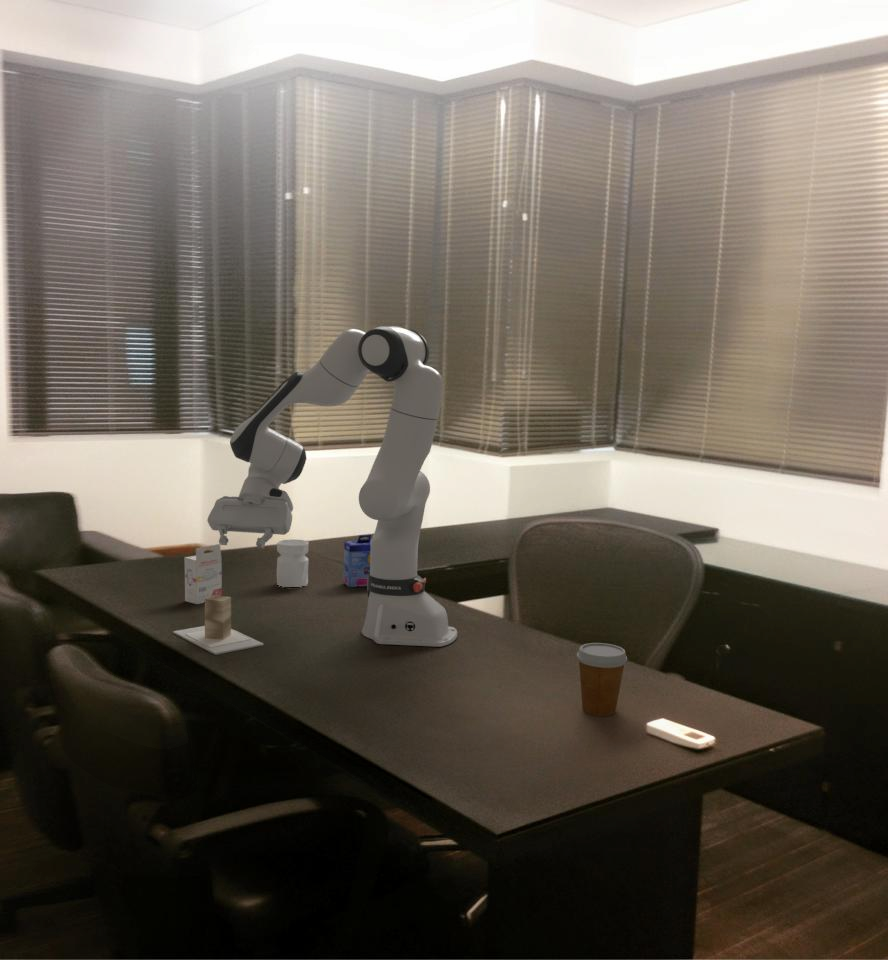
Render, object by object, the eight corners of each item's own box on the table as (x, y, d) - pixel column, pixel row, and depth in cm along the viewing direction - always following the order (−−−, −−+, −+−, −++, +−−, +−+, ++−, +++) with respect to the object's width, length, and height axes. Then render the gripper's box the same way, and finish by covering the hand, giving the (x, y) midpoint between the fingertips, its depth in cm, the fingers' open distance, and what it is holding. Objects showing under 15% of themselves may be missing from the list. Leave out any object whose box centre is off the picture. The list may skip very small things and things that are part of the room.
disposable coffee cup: (590, 697, 202) (593, 639, 200) (633, 710, 196) (636, 649, 194) (564, 710, 195) (567, 649, 193) (607, 723, 189) (611, 660, 187)
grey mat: (173, 633, 236) (173, 630, 236) (219, 624, 244) (219, 622, 244) (215, 654, 221) (215, 652, 221) (263, 645, 229) (263, 642, 229)
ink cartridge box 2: (348, 588, 283) (349, 536, 281) (342, 583, 288) (343, 533, 286) (381, 585, 288) (383, 534, 286) (374, 580, 292) (376, 531, 290)
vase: (271, 586, 282) (271, 543, 281) (285, 579, 291) (285, 538, 289) (300, 589, 280) (300, 546, 278) (313, 582, 288) (313, 540, 286)
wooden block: (230, 635, 234) (231, 596, 232) (223, 639, 230) (223, 601, 229) (212, 633, 235) (212, 595, 233) (204, 637, 231) (204, 599, 230)
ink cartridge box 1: (209, 595, 271) (209, 540, 269) (222, 598, 268) (222, 543, 266) (183, 601, 264) (183, 545, 262) (196, 604, 261) (196, 548, 259)
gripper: (213, 488, 249) (195, 534, 240) (292, 492, 244) (277, 540, 236) (222, 503, 253) (204, 549, 245) (299, 508, 249) (284, 555, 241)
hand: (240, 545), depth 241 cm, fingers open, 8 cm apart
